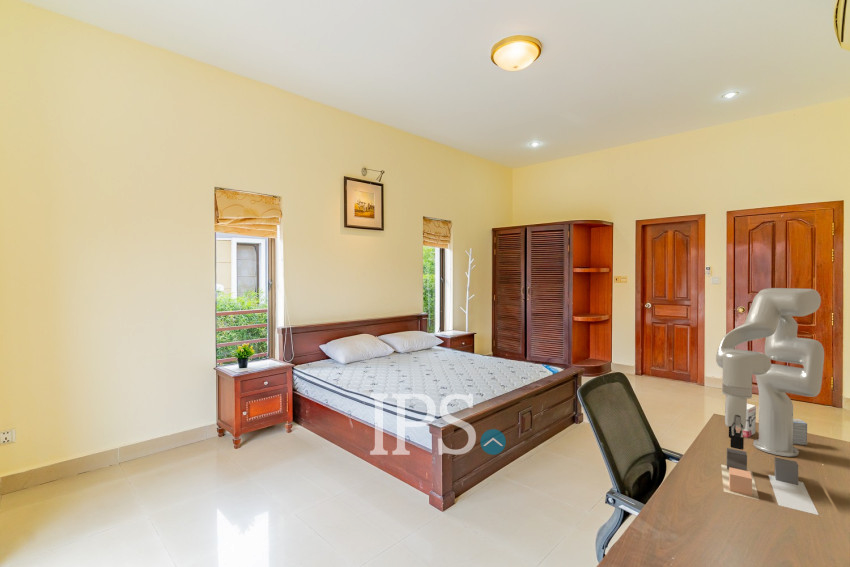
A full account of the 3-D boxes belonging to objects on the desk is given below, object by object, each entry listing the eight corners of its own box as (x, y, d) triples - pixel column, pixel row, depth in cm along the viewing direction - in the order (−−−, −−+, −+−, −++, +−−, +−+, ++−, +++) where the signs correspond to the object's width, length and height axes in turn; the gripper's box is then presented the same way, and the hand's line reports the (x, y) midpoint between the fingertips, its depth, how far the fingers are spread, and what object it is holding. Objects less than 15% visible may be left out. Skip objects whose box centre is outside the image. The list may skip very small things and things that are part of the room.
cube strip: (721, 468, 131) (721, 446, 131) (751, 474, 126) (752, 452, 126) (723, 495, 115) (723, 471, 115) (759, 504, 110) (759, 479, 110)
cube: (728, 483, 119) (729, 467, 119) (750, 488, 116) (750, 471, 116) (729, 490, 115) (730, 473, 115) (751, 496, 112) (752, 478, 112)
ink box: (748, 438, 155) (748, 408, 155) (733, 434, 159) (733, 405, 159) (756, 433, 160) (756, 404, 159) (741, 429, 164) (741, 401, 164)
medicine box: (800, 441, 152) (800, 419, 152) (807, 445, 148) (807, 423, 148) (775, 438, 155) (775, 416, 154) (781, 443, 150) (781, 420, 150)
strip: (768, 478, 124) (768, 456, 124) (802, 486, 120) (803, 462, 119) (778, 509, 108) (778, 483, 108) (818, 519, 103) (819, 492, 103)
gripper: (721, 383, 136) (720, 432, 136) (723, 394, 122) (722, 449, 122) (749, 387, 132) (748, 437, 132) (754, 399, 118) (753, 455, 118)
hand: (735, 443), depth 127 cm, fingers open, 9 cm apart
